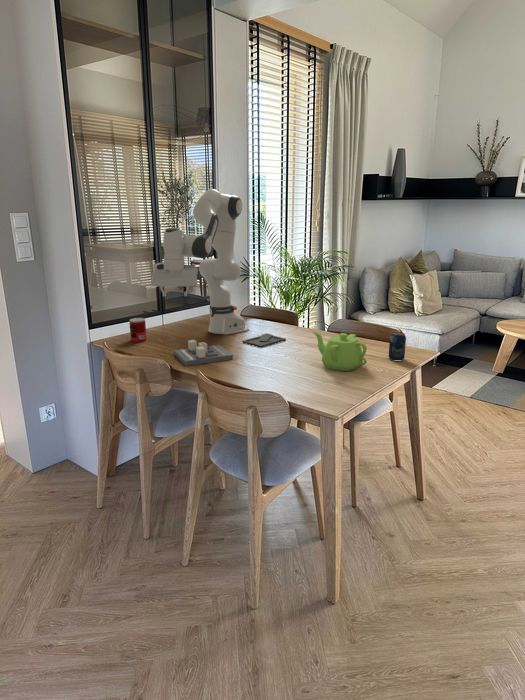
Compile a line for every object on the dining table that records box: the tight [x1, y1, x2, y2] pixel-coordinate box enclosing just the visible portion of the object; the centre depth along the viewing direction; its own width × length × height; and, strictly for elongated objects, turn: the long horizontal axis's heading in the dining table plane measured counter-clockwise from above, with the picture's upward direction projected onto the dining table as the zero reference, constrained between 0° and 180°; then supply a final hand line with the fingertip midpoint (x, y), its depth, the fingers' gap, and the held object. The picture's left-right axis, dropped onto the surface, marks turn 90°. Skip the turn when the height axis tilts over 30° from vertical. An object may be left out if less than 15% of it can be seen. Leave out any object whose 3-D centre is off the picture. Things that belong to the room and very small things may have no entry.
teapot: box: [312, 331, 368, 372], centre depth 208 cm, size 19×20×14 cm
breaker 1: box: [187, 339, 198, 351], centre depth 226 cm, size 3×4×4 cm
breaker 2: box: [196, 346, 205, 358], centre depth 216 cm, size 3×4×4 cm
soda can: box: [388, 331, 407, 361], centre depth 217 cm, size 7×7×12 cm
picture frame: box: [241, 333, 287, 348], centre depth 247 cm, size 13×2×18 cm
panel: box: [173, 344, 234, 367], centre depth 223 cm, size 22×18×2 cm
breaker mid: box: [197, 341, 208, 353], centre depth 222 cm, size 3×4×4 cm
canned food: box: [129, 317, 147, 343], centre depth 249 cm, size 8×8×11 cm
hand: (175, 296), depth 220 cm, fingers open, 8 cm apart
